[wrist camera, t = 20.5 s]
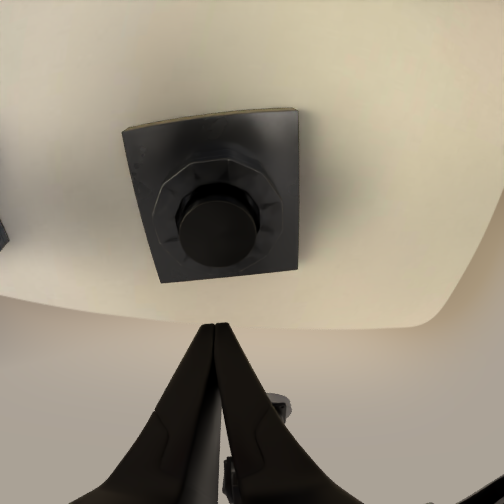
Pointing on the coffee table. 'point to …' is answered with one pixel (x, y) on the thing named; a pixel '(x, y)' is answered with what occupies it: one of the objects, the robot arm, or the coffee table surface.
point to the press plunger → (217, 227)
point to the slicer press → (218, 184)
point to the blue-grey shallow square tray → (3, 237)
